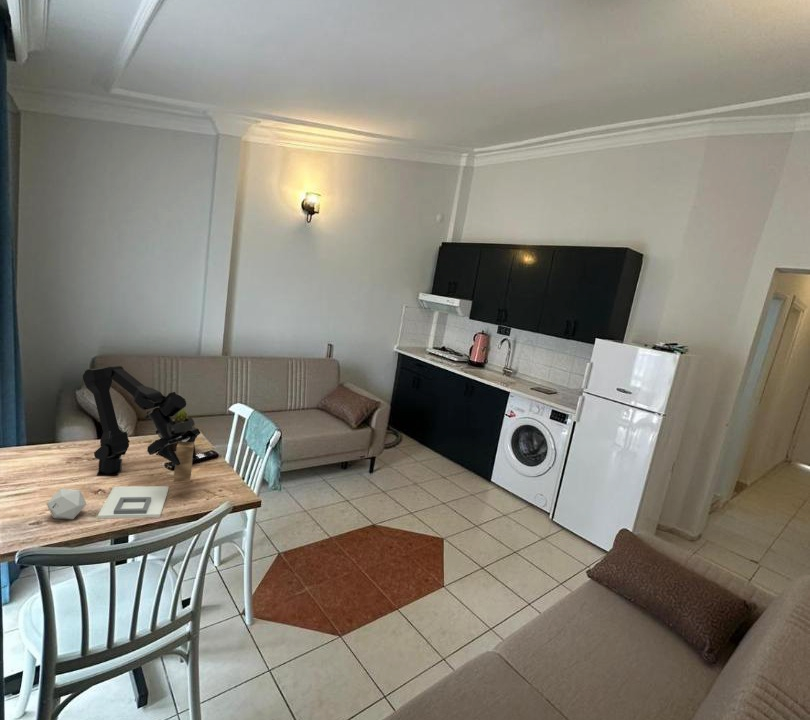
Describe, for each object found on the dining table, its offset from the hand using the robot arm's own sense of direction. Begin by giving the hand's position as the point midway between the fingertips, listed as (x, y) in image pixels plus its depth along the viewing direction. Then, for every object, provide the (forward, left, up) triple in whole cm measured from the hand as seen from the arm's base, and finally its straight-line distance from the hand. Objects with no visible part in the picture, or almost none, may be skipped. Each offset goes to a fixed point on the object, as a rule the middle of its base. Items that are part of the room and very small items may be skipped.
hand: (187, 461), depth 158 cm
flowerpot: (-7, +41, -14) cm, 44 cm away
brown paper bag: (-1, +1, -7) cm, 7 cm away
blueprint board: (-14, -3, -13) cm, 20 cm away
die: (-31, -11, -14) cm, 36 cm away
